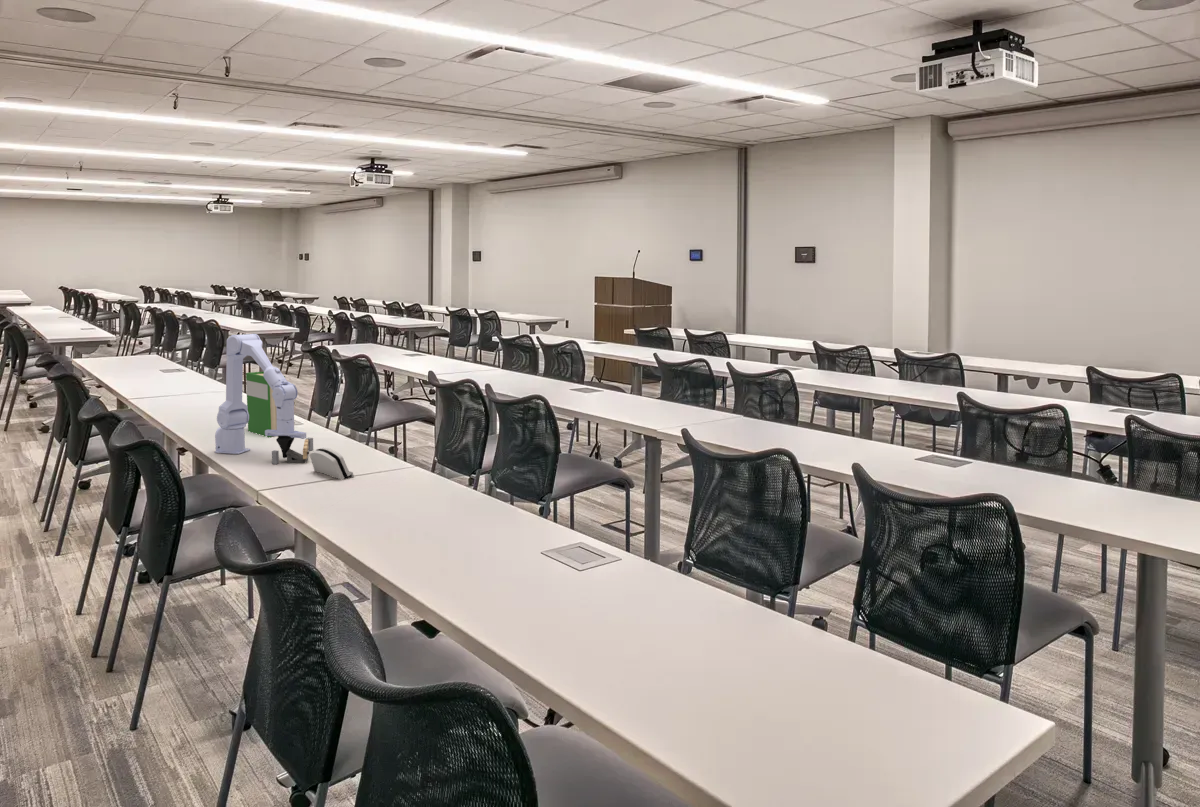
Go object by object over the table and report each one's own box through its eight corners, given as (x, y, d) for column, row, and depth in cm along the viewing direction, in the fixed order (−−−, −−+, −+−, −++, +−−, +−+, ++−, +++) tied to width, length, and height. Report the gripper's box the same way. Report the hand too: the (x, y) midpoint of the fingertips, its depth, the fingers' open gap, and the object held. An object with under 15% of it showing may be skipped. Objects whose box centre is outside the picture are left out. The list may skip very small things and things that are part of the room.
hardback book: (286, 435, 343) (285, 375, 340) (269, 437, 338) (267, 377, 334) (265, 429, 355) (263, 371, 351) (248, 431, 349) (245, 372, 346)
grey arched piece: (355, 477, 278) (345, 450, 274) (342, 484, 275) (332, 457, 271) (327, 468, 289) (317, 442, 285) (315, 475, 286) (305, 448, 282)
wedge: (307, 460, 301) (307, 448, 300) (305, 463, 296) (305, 451, 296) (288, 459, 300) (288, 448, 300) (285, 463, 295) (285, 451, 295)
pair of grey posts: (272, 464, 293) (271, 451, 292) (309, 449, 318) (309, 437, 317) (276, 464, 293) (275, 451, 292) (313, 449, 318) (313, 437, 317)
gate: (305, 446, 315) (304, 439, 314) (310, 446, 315) (310, 438, 315) (303, 458, 295) (302, 450, 295) (308, 458, 296) (308, 450, 295)
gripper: (259, 419, 293) (260, 458, 295) (298, 422, 291) (299, 461, 293) (270, 416, 300) (271, 453, 302) (309, 419, 298) (309, 457, 300)
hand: (285, 457), depth 298 cm, fingers closed, pressing on wedge
